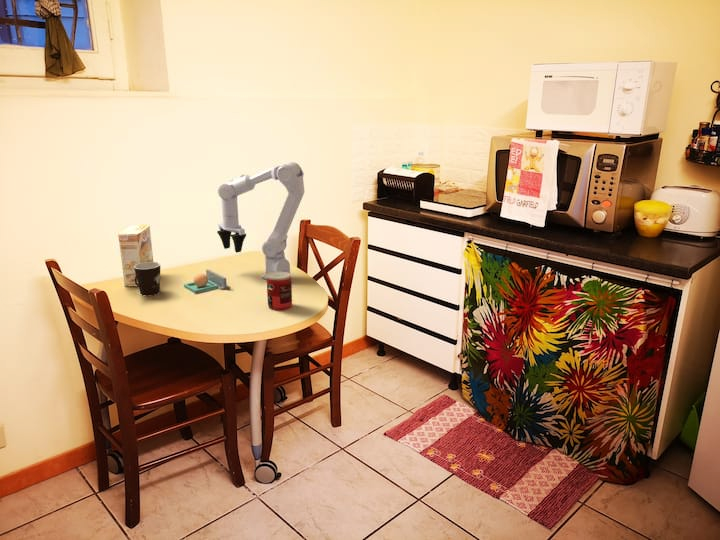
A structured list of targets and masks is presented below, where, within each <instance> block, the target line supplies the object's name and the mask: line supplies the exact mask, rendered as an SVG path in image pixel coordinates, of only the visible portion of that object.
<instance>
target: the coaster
mask: <svg viewBox="0 0 720 540" xmlns="http://www.w3.org/2000/svg"><path fill="white" fill-rule="evenodd" d="M183 287H184V288H185V289H186V290H189V291H190V292H192V293H193V294H199V293H204V292H209V291H212V290H216V289H220V287H219V286H218V285H217V284H215V283H213V282H211V281H209V280H208V283H207V285H206V286H204V287H198V286H196V285H195V284H194V281H192V282H188V283H185V284H183Z"/></svg>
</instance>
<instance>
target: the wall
mask: <svg viewBox="0 0 720 540" xmlns="http://www.w3.org/2000/svg"><path fill="white" fill-rule="evenodd" d="M205 275H206V276H207V278H208V280H209V281H211V282H213V283H215V284H217V285H218V287H219V290H221V291H224V290H227V289H230V286H229V285H227V284H228V282H227V277H224V276H223V275H220V274H219V273H217V272H215V271H213V270H211V269H205Z"/></svg>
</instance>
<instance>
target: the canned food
mask: <svg viewBox="0 0 720 540" xmlns="http://www.w3.org/2000/svg"><path fill="white" fill-rule="evenodd" d="M291 278H292V274H291V272H290V273H288V272H282V271H277V272H271V273H268V274H267V280H266V293H267V297H266V298H267V306H268V308H269V309H270V310H273V311H286V310H289V309H291V308H292V305H293V293H292V292H293V287H292V279H291Z"/></svg>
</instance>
